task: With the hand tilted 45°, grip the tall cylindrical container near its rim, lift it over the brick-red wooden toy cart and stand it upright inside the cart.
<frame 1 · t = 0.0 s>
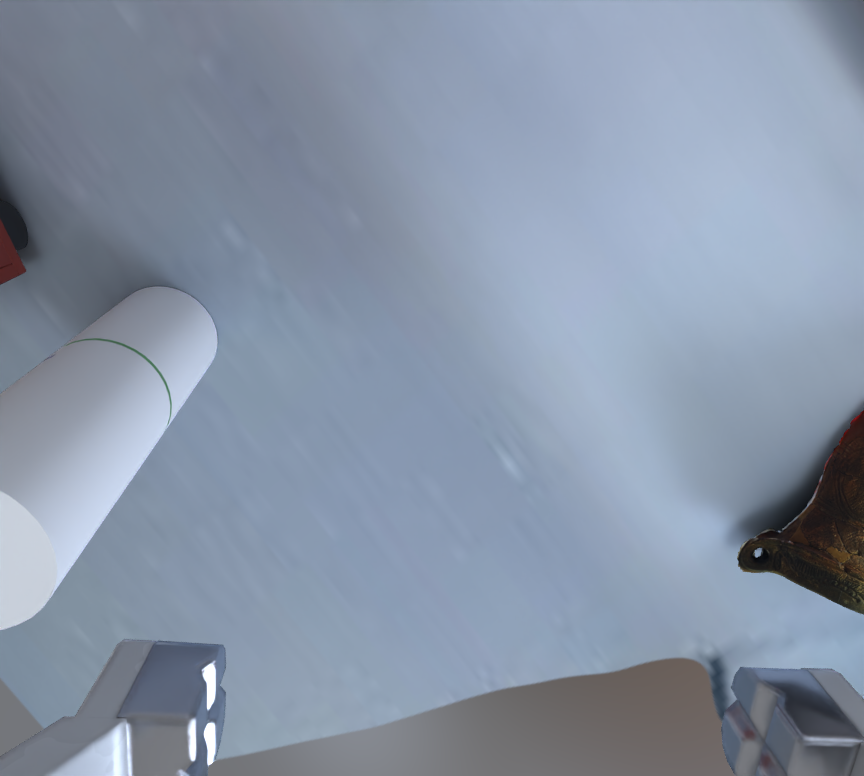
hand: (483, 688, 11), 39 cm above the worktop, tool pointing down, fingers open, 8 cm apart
cylindrical container: (166, 335, 49), on the worktop
brown piece: (835, 512, 57), on the worktop
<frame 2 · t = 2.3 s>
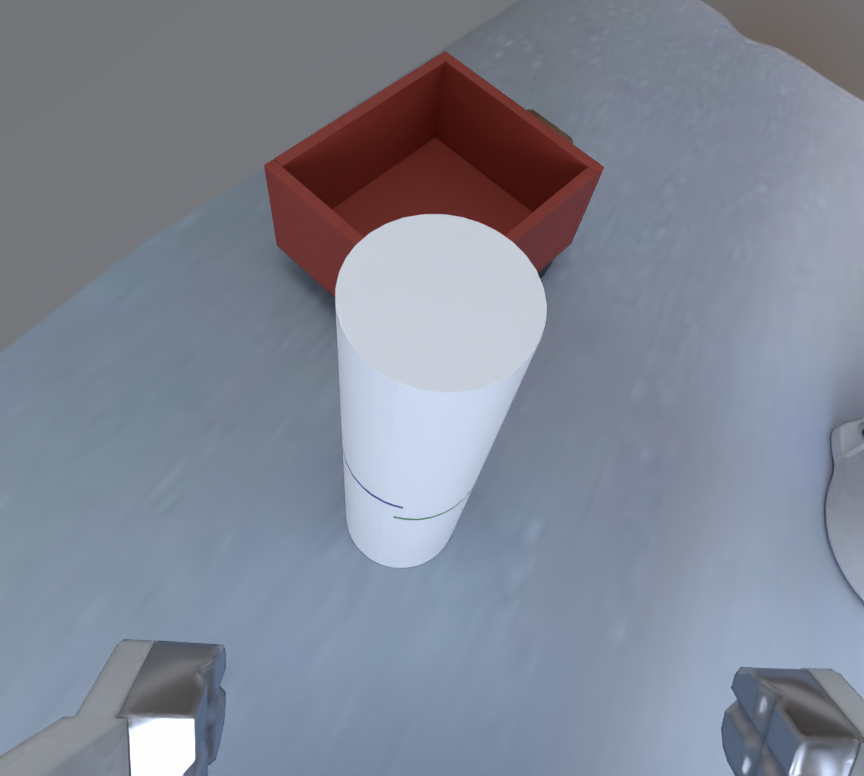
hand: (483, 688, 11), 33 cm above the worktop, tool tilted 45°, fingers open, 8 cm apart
cylindrical container: (400, 513, 46), on the worktop
toy cart: (424, 268, 55), on the worktop
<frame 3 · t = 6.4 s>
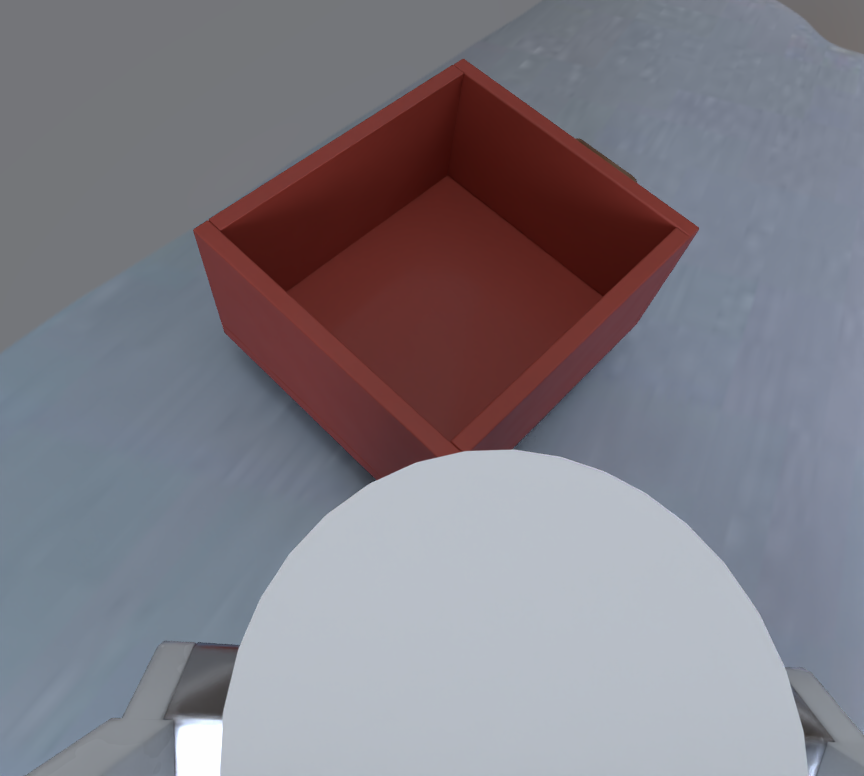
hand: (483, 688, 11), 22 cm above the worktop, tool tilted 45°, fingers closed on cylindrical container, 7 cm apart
cylindrical container: (399, 745, 31), on the worktop, touching gripper
toy cart: (432, 356, 40), on the worktop
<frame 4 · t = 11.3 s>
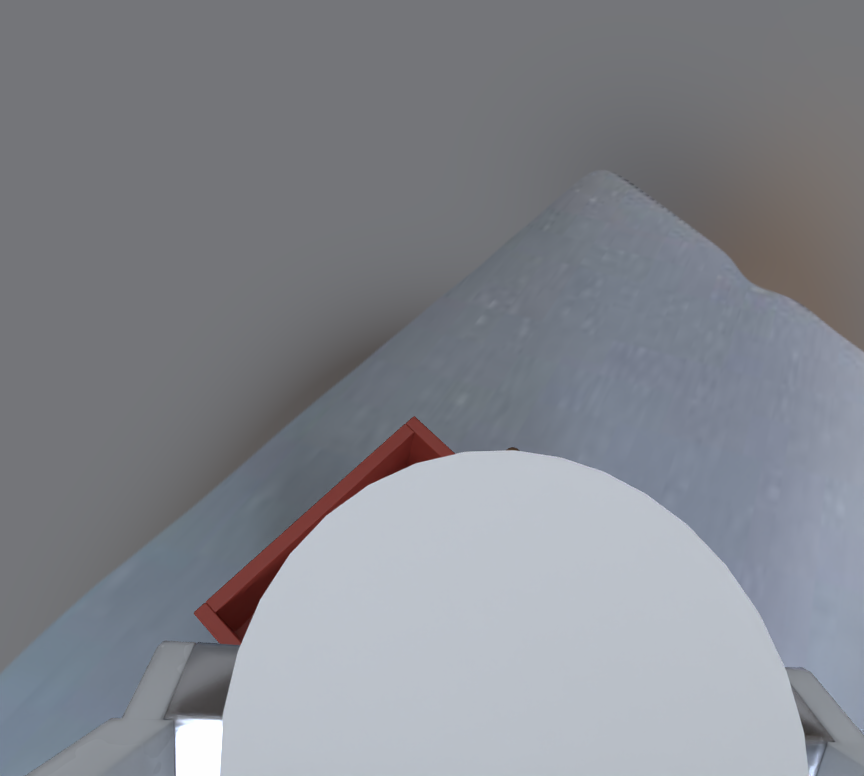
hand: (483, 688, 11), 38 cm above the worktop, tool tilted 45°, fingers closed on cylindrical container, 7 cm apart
cylindrical container: (399, 745, 31), point 16 cm above the worktop, touching gripper
toy cart: (392, 629, 48), on the worktop
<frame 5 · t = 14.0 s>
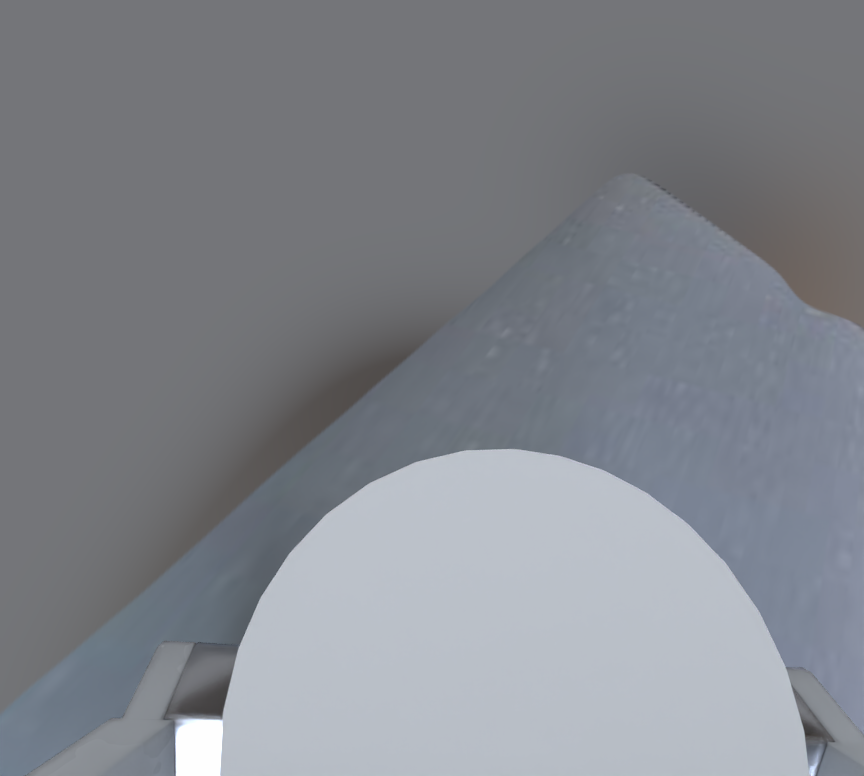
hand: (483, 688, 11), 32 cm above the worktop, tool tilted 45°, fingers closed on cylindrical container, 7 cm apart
cylindrical container: (399, 745, 31), point 9 cm above the worktop, touching gripper
when the fingers open (26 cm above the worktop, at t = 16.2 s): cylindrical container stays where it is, resting on toy cart.
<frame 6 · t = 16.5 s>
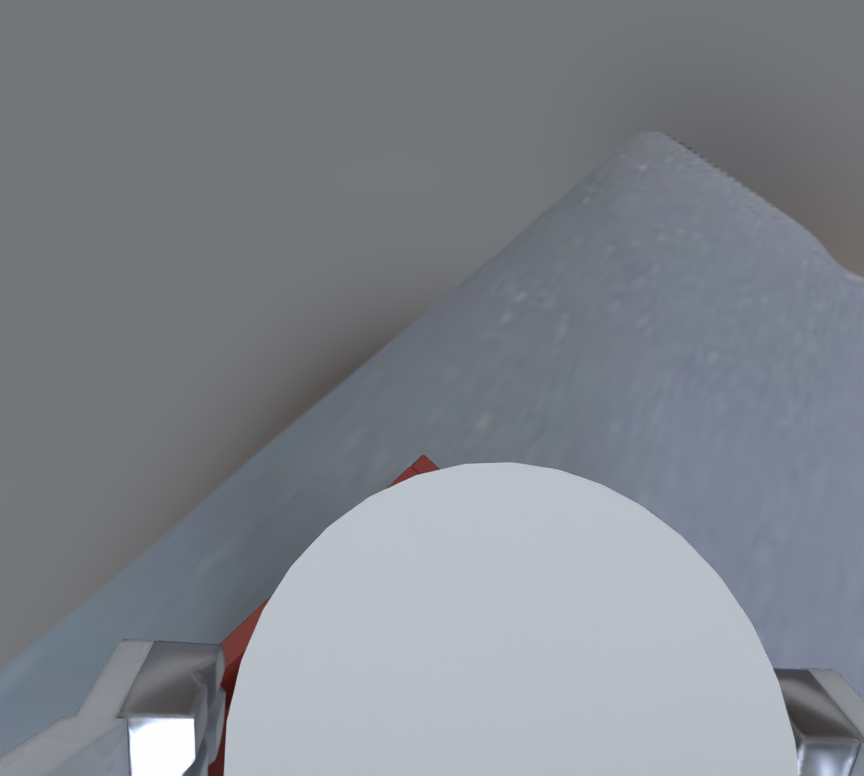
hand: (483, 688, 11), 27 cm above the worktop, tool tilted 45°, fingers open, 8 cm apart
cylindrical container: (398, 748, 31), point 4 cm above the worktop, touching toy cart
toy cart: (393, 747, 34), on the worktop
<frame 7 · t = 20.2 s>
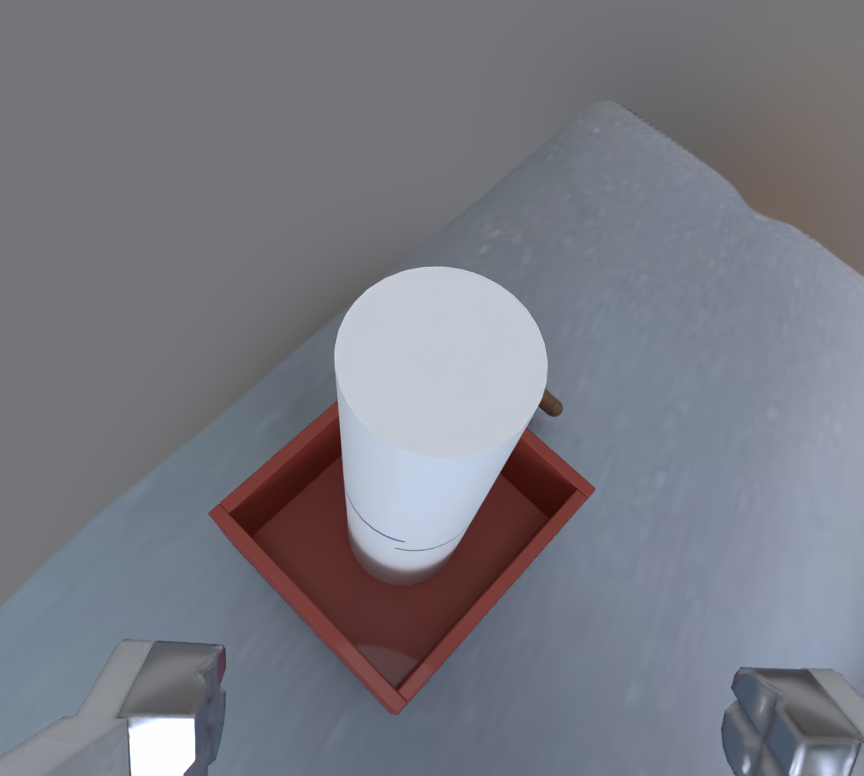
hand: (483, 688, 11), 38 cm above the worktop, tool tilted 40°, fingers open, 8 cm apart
cylindrical container: (402, 530, 46), point 4 cm above the worktop, touching toy cart
toy cart: (399, 542, 50), on the worktop
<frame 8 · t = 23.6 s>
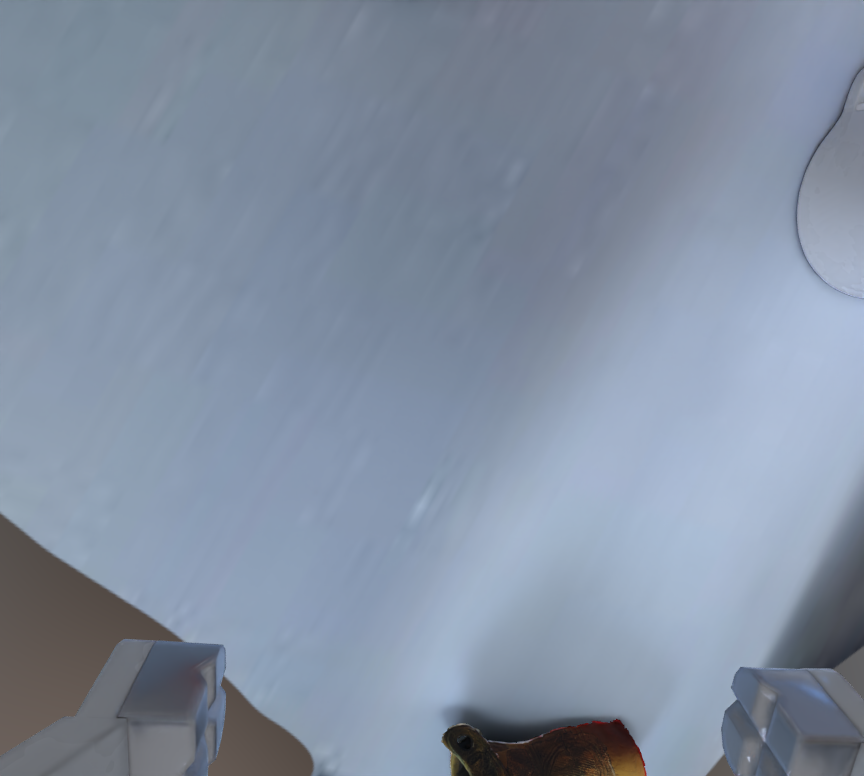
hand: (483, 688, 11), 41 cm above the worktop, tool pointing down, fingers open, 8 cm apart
brown piece: (512, 763, 64), on the worktop
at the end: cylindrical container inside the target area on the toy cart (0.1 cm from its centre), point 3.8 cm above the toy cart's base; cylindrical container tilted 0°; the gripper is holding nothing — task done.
